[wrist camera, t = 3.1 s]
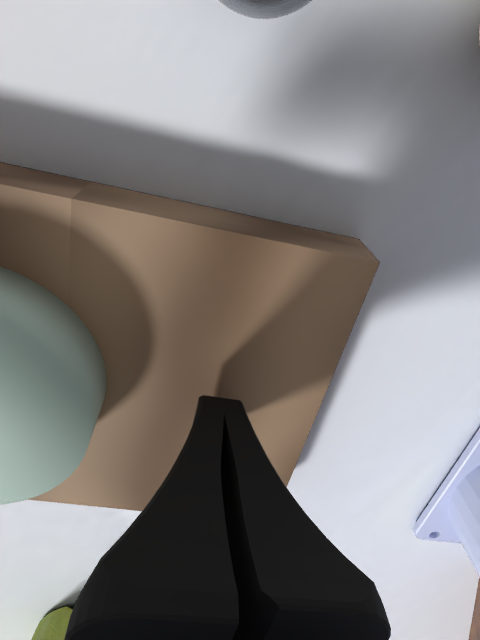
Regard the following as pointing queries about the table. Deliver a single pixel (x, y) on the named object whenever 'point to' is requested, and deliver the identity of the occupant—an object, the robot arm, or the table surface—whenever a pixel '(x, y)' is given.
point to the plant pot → (53, 625)
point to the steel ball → (265, 7)
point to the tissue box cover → (476, 618)
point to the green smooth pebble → (43, 388)
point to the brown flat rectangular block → (183, 318)
